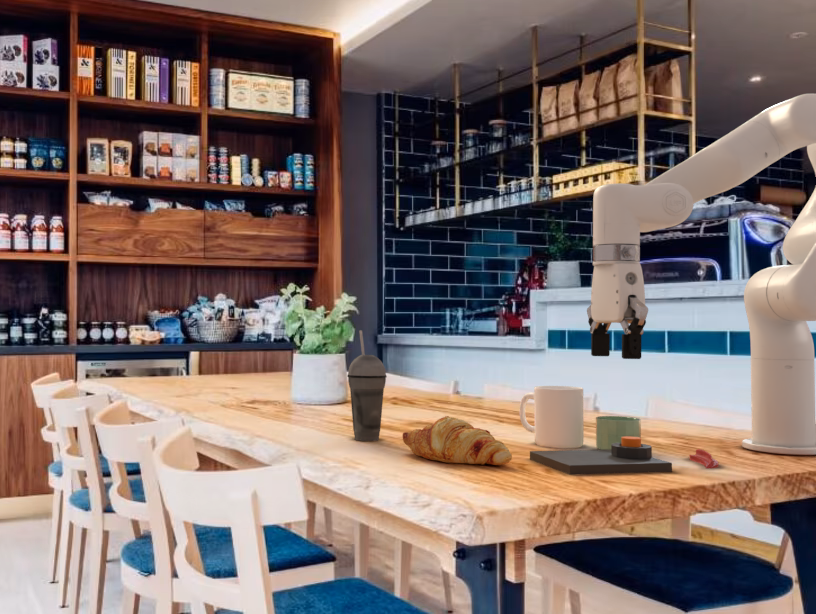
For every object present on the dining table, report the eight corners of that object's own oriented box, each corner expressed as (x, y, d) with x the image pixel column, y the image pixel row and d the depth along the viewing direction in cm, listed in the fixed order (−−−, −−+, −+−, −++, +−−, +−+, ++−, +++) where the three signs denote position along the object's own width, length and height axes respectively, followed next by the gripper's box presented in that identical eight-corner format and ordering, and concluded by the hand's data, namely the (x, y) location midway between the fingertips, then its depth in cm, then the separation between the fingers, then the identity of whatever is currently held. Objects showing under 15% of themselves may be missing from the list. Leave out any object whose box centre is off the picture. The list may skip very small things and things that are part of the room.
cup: (568, 450, 140) (568, 390, 141) (507, 442, 149) (507, 386, 150) (592, 445, 146) (592, 387, 147) (532, 438, 155) (531, 383, 155)
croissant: (522, 489, 124) (536, 440, 127) (487, 464, 118) (503, 413, 121) (413, 467, 140) (428, 423, 142) (377, 444, 134) (394, 399, 137)
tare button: (634, 446, 128) (634, 436, 128) (644, 449, 125) (644, 438, 125) (617, 446, 128) (617, 436, 128) (627, 449, 125) (627, 439, 125)
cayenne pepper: (691, 456, 135) (691, 444, 135) (723, 458, 133) (723, 446, 133) (682, 467, 125) (682, 454, 125) (716, 470, 123) (716, 456, 123)
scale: (625, 457, 133) (624, 438, 133) (674, 472, 120) (674, 451, 121) (529, 460, 131) (529, 440, 131) (569, 475, 118) (569, 454, 118)
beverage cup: (385, 442, 148) (385, 330, 149) (344, 441, 149) (345, 330, 150) (387, 437, 155) (387, 330, 156) (349, 436, 156) (349, 330, 157)
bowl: (625, 447, 144) (625, 415, 144) (649, 453, 137) (648, 420, 138) (588, 448, 143) (588, 416, 143) (610, 454, 136) (609, 421, 136)
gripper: (666, 253, 134) (666, 360, 133) (609, 261, 151) (608, 355, 150) (623, 252, 132) (623, 359, 132) (570, 259, 149) (570, 354, 149)
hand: (615, 357), depth 141 cm, fingers open, 9 cm apart
